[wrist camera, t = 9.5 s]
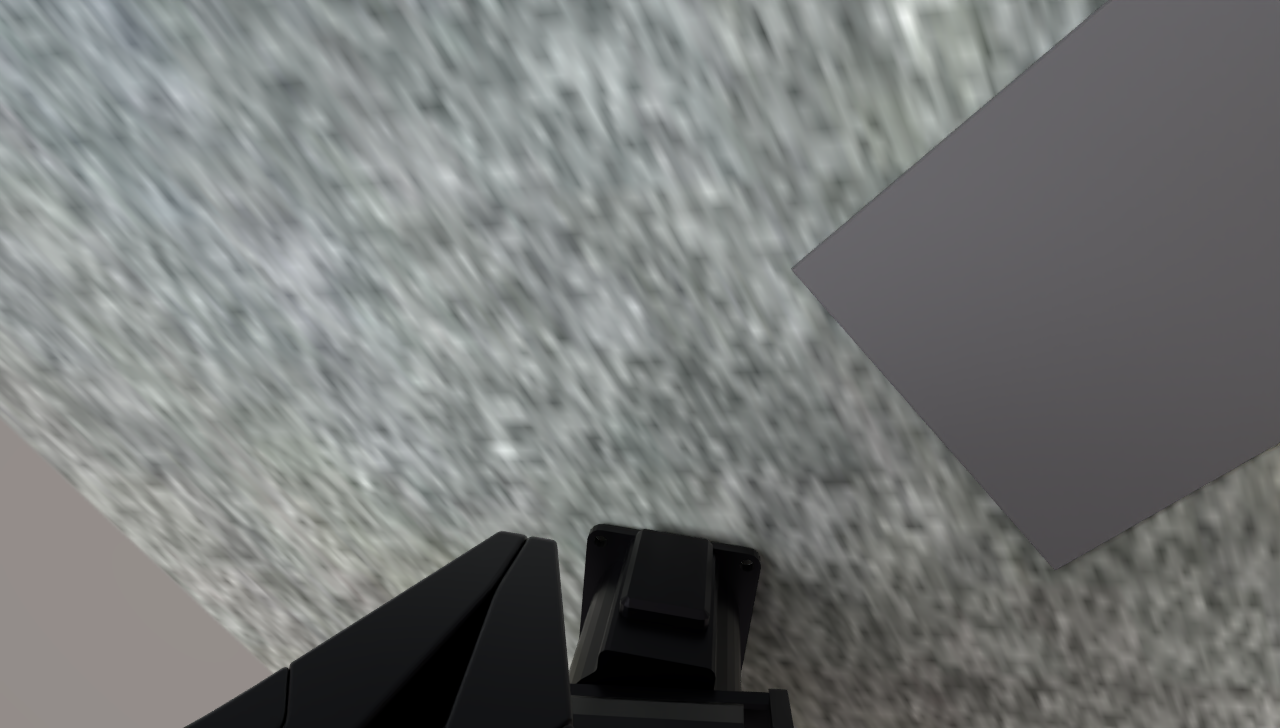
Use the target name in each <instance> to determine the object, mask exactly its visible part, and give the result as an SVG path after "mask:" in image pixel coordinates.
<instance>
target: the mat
mask: <svg viewBox="0 0 1280 728" xmlns="http://www.w3.org/2000/svg"><path fill="white" fill-rule="evenodd" d="M791 269H792V271H793V272H794V273H795V274H796V275H797V276H798V278H799V279H800V280H801V281H802V282H803V283H804V284H805V286H806V287H807V288H808V289H809V290H810V291H811V292H812V294H813V295H814V296H815V297H816V298H817V299H818V300H819V302H820V303H821V304H822V305H823V306H824V307H825V308H826V310H827V311H828V312H829V313H830V314H831V315H832V316H833V318H834V319H835V320H836V321H837V322H838V323H839V324H840V326H841V327H842V328H843V329H844V330H845V331H846V332H847V334H848V335H849V336H850V337H851V338H852V339H853V340H854V342H855V343H856V344H857V345H858V346H859V347H860V348H861V349H862V351H863V352H864V353H865V354H866V355H867V356H868V357H869V359H870V360H871V361H872V362H873V363H874V364H875V365H876V367H877V368H878V369H879V370H880V371H881V372H882V373H883V375H884V376H885V377H886V378H887V379H888V380H889V381H890V383H891V384H892V385H893V386H894V387H895V388H896V389H897V391H898V392H899V393H900V394H901V395H902V396H903V397H904V399H905V400H906V401H907V402H908V403H909V404H910V405H911V407H912V408H913V409H914V410H915V411H916V412H917V413H918V415H919V416H920V417H921V418H922V419H923V420H924V421H925V423H926V424H927V425H928V426H929V427H930V428H931V429H932V431H933V432H934V433H935V434H936V435H937V436H938V437H939V439H940V440H941V441H942V442H943V443H944V444H945V445H946V447H947V448H948V449H949V450H950V451H951V452H952V453H953V455H954V456H955V457H956V458H957V459H958V460H959V461H960V462H961V464H962V465H963V466H964V467H965V468H966V469H967V470H968V472H969V473H970V474H971V475H972V476H973V477H974V478H975V480H976V481H977V482H978V483H979V484H980V485H981V486H982V488H983V489H984V490H985V491H986V492H987V493H988V494H989V496H990V497H991V498H992V499H993V500H994V501H995V502H996V504H997V505H998V506H999V507H1000V508H1001V509H1002V510H1003V512H1004V513H1005V514H1006V515H1007V516H1008V517H1009V518H1010V520H1011V521H1012V522H1013V523H1014V524H1015V525H1016V526H1017V528H1018V529H1019V530H1020V531H1021V532H1022V533H1023V534H1024V536H1025V537H1026V538H1027V539H1028V540H1029V541H1030V542H1031V544H1032V545H1033V546H1034V547H1035V548H1036V549H1037V550H1038V552H1039V553H1040V554H1041V555H1042V556H1043V557H1044V558H1045V560H1046V561H1047V562H1048V563H1049V564H1050V565H1051V566H1052V568H1053V569H1054V570H1057V569H1058V568H1060V567H1062V566H1064V565H1065V564H1067V563H1069V562H1071V561H1072V560H1074V559H1076V558H1078V557H1079V556H1081V555H1083V554H1085V553H1086V552H1088V551H1090V550H1092V549H1094V548H1095V547H1097V546H1099V545H1101V544H1102V543H1104V542H1106V541H1108V540H1109V539H1111V538H1113V537H1115V536H1116V535H1118V534H1120V533H1122V532H1123V531H1125V530H1127V529H1129V528H1130V527H1132V526H1134V525H1136V524H1137V523H1139V522H1141V521H1143V520H1144V519H1146V518H1148V517H1150V516H1152V515H1153V514H1155V513H1157V512H1159V511H1160V510H1162V509H1164V508H1166V507H1167V506H1169V505H1171V504H1173V503H1174V502H1176V501H1178V500H1180V499H1181V498H1183V497H1185V496H1187V495H1188V494H1190V493H1192V492H1194V491H1195V490H1197V489H1199V488H1201V487H1202V486H1204V485H1206V484H1208V483H1210V482H1211V481H1213V480H1215V479H1217V478H1218V477H1220V476H1222V475H1224V474H1225V473H1227V472H1229V471H1231V470H1232V469H1234V468H1236V467H1238V466H1239V465H1241V464H1243V463H1245V462H1246V461H1248V460H1250V459H1252V458H1253V457H1255V456H1257V455H1259V454H1261V453H1262V452H1264V451H1266V450H1268V449H1269V448H1271V447H1273V446H1275V445H1276V444H1278V443H1280V0H1108V1H1107V2H1106V3H1104V4H1103V5H1102V6H1101V7H1100V8H1098V9H1097V10H1096V11H1095V12H1094V13H1093V14H1091V15H1090V16H1089V17H1088V18H1087V19H1085V20H1084V21H1083V22H1082V23H1081V24H1080V25H1078V26H1077V27H1076V28H1075V29H1074V30H1072V31H1071V32H1070V33H1069V34H1068V35H1067V36H1065V37H1064V38H1063V39H1062V40H1061V41H1059V42H1058V43H1057V44H1056V45H1055V46H1054V47H1052V48H1051V49H1050V50H1049V51H1048V52H1046V53H1045V54H1044V55H1043V56H1042V57H1041V58H1039V59H1038V60H1037V61H1036V62H1035V63H1033V64H1032V65H1031V66H1030V67H1029V68H1028V69H1026V70H1025V71H1024V72H1023V73H1022V74H1020V75H1019V76H1018V77H1017V78H1016V79H1015V80H1013V81H1012V82H1011V83H1010V84H1009V85H1007V86H1006V87H1005V88H1004V89H1003V90H1002V91H1000V92H999V93H998V94H997V95H996V96H994V97H993V98H992V99H991V100H990V101H989V102H987V103H986V104H985V105H984V106H983V107H981V108H980V109H979V110H978V111H977V112H976V113H974V114H973V115H972V116H971V117H970V118H968V119H967V120H966V121H965V122H964V123H963V124H961V125H960V126H959V127H958V128H957V129H955V130H954V131H953V132H952V133H951V134H950V135H948V136H947V137H946V138H945V139H944V140H942V141H941V142H940V143H939V144H938V145H937V146H935V147H934V148H933V149H932V150H931V151H929V152H928V153H927V154H926V155H925V156H924V157H922V158H921V159H920V160H919V161H918V162H916V163H915V164H914V165H913V166H912V167H911V168H909V169H908V170H907V171H906V172H905V173H903V174H902V175H901V176H900V177H899V178H898V179H896V180H895V181H894V182H893V183H892V184H890V185H889V186H888V187H887V188H886V189H885V190H883V191H882V192H881V193H880V194H879V195H877V196H876V197H875V198H874V199H873V200H872V201H870V202H869V203H868V204H867V205H866V206H864V207H863V208H862V209H861V210H860V211H859V212H857V213H856V214H855V215H854V216H853V217H851V218H850V219H849V220H848V221H847V222H846V223H844V224H843V225H842V226H841V227H840V228H838V229H837V230H836V231H835V232H834V233H833V234H831V235H830V236H829V237H828V238H827V239H825V240H824V241H823V242H822V243H821V244H820V245H818V246H817V247H816V248H815V249H814V250H812V251H811V252H810V253H809V254H808V255H807V256H805V257H804V258H803V259H802V260H801V261H799V262H798V263H797V264H796V265H795V266H794V267H792V268H791Z"/></svg>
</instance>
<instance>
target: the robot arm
mask: <svg viewBox="0 0 1280 728" xmlns="http://www.w3.org/2000/svg"><path fill="white" fill-rule="evenodd" d="M596 536H603V537H605V538H606V539H607V540H606V541H600V540H598V539H597V538H596ZM743 560H750V561H752V562H753V563H752V564H750V565H744V564H742V563H741V562H742V561H743ZM760 569H761V564H760V556H759V554H758V553H757V552H756V551H755V550H754V549H751V548H747V547H741V546H734V545H728V544H722V543H716V542H710V541H708V540H707V539H703V538H697V537H690V536H684V535H678V534H672V533H666V532H660V531H653V530H647V529H643V530H636V529H630V528H623V527H617V526H611V525H605V524H598V525H596V526H594V527H593V528H592V529H591V531H590V533H589V536H588V539H587V550H586V563H585V575H584V587H583V599H582V612H581V624H580V636H579V642H578V645H577V648H576V651H575V654H574V658H573V661H572V664H571V667H570V670H568V659H567V648H566V637H565V626H564V615H563V604H562V593H561V582H560V571H559V560H558V549H557V543H556V542H555V541H554V540H551V539H545V538H539V537H530V538H527V537H526V536H525V535H522V534H517V533H511V532H506V531H501V532H498V533H496V534H494V535H493V536H491V537H490V538H488V539H486V540H485V541H483V542H482V543H480V544H478V545H477V546H475V547H474V548H472V549H471V550H469V551H467V552H466V553H464V554H463V555H461V556H459V557H458V558H456V559H455V560H453V561H452V562H450V563H448V564H447V565H445V566H444V567H442V568H440V569H439V570H437V571H436V572H434V573H433V574H431V575H429V576H428V577H426V578H425V579H423V580H422V581H420V582H418V583H417V584H415V585H414V586H412V587H410V588H409V589H407V590H406V591H404V592H403V593H401V594H399V595H398V596H396V597H395V598H393V599H391V600H390V601H388V602H387V603H385V604H384V605H382V606H380V607H379V608H377V609H376V610H374V611H372V612H371V613H369V614H368V615H366V616H365V617H363V618H361V619H360V620H358V621H357V622H355V623H353V624H352V625H350V626H349V627H347V628H346V629H344V630H342V631H341V632H339V633H338V634H336V635H335V636H333V637H331V638H330V639H328V640H327V641H325V642H323V643H322V644H320V645H319V646H317V647H316V648H314V649H312V650H311V651H309V652H308V653H306V654H304V655H303V656H301V657H300V658H298V659H297V660H295V661H293V662H292V663H291V664H290V667H289V669H288V668H287V667H284V668H282V669H280V670H279V671H277V672H276V673H274V674H272V675H271V676H269V677H268V678H266V679H265V680H263V681H261V682H260V683H258V684H257V685H255V686H253V687H252V688H250V689H248V690H247V691H245V692H243V693H242V694H240V695H238V696H237V697H235V698H234V699H232V700H230V701H229V702H227V703H226V704H224V705H222V706H221V707H219V708H217V709H215V710H214V711H212V712H210V713H209V714H207V715H205V716H204V717H202V718H200V719H198V720H196V721H195V722H193V723H191V724H189V725H187V726H186V727H184V728H794V726H793V721H792V715H791V709H790V703H789V697H788V691H787V690H786V689H769V693H765V692H743V691H741V670H742V665H743V660H744V654H745V649H746V644H747V638H748V633H749V628H750V622H751V617H752V612H753V606H754V601H755V596H756V590H757V585H758V580H759V574H760Z"/></svg>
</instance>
